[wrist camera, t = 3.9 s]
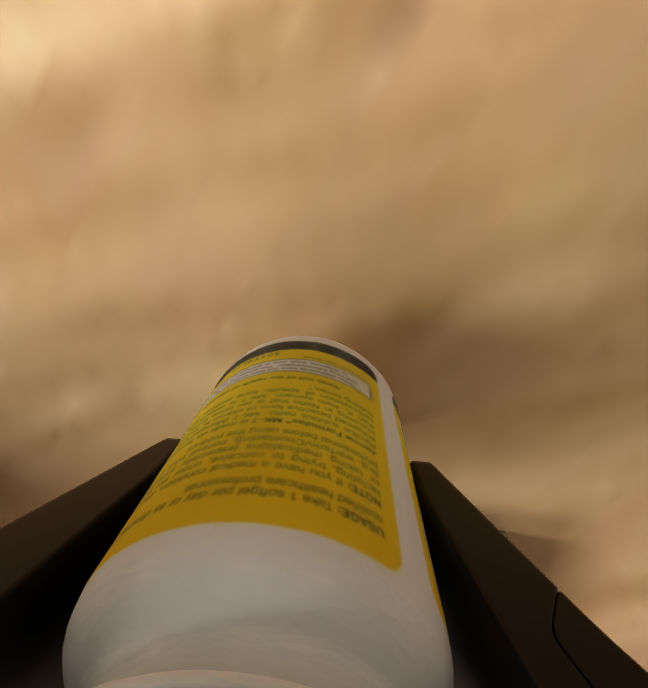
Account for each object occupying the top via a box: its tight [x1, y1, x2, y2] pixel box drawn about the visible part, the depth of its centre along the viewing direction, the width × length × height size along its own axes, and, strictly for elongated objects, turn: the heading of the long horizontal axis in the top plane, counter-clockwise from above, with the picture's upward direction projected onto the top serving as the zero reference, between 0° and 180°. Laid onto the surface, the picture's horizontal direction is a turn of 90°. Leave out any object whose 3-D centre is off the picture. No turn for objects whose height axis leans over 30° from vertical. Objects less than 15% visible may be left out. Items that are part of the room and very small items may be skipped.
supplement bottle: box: [62, 336, 454, 688], centre depth 7 cm, size 5×5×8 cm
